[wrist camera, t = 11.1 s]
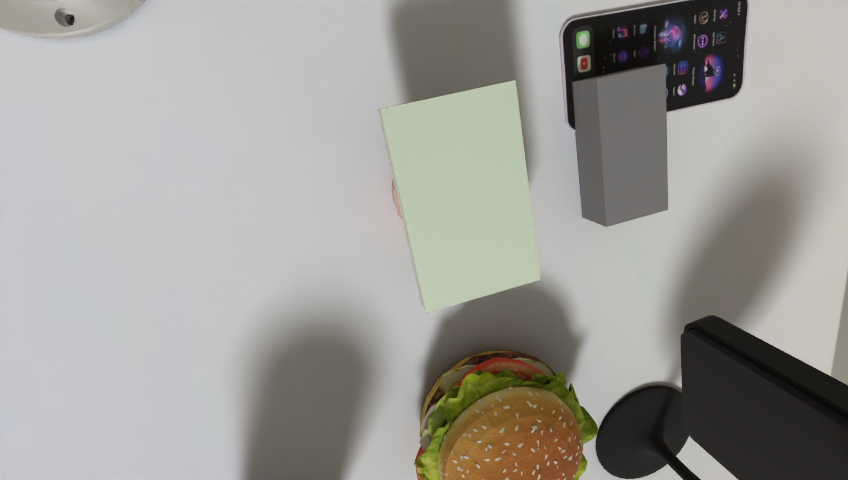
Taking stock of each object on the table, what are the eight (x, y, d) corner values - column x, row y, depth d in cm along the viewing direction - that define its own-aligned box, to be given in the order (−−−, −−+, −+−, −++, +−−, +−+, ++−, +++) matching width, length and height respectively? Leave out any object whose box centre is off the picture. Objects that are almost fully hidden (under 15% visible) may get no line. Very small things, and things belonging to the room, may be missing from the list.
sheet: (377, 109, 23) (380, 109, 22) (505, 81, 24) (515, 80, 23) (421, 303, 27) (426, 313, 26) (530, 272, 28) (540, 279, 27)
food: (379, 468, 36) (394, 562, 28) (443, 320, 33) (478, 380, 26) (518, 490, 40) (562, 577, 32) (584, 360, 37) (649, 421, 30)
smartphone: (559, 20, 28) (750, -13, 31) (555, 22, 29) (743, -11, 31) (567, 135, 31) (743, 96, 33) (562, 134, 32) (736, 97, 34)
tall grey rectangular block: (571, 82, 30) (596, 78, 27) (634, 68, 31) (665, 63, 28) (582, 217, 33) (606, 226, 30) (639, 201, 34) (668, 209, 31)
